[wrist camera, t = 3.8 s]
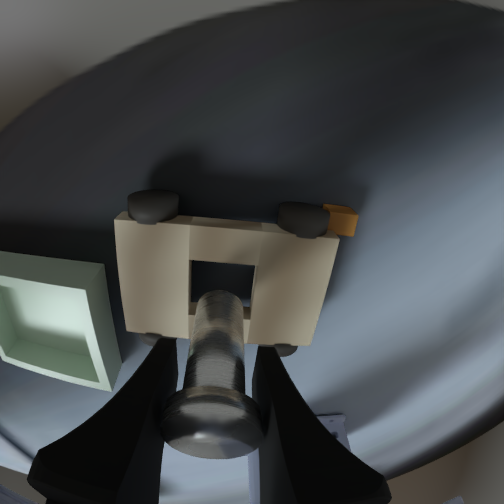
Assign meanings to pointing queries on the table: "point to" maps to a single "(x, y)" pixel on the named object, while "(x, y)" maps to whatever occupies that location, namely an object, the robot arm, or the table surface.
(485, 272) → the table surface
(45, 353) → the tray
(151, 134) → the table surface
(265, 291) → the toy car
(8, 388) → the table surface
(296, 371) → the table surface
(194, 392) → the stop pin
